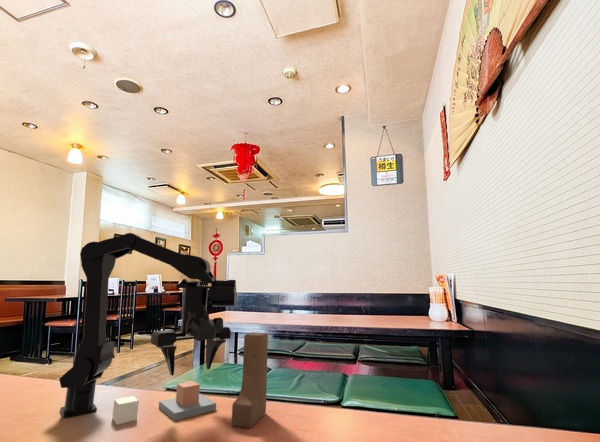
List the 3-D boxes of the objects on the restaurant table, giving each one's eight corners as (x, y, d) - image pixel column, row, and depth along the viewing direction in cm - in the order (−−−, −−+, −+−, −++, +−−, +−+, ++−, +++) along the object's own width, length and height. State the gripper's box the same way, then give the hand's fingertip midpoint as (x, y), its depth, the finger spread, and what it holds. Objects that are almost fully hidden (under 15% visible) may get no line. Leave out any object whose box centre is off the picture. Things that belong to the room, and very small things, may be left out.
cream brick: (112, 419, 73) (114, 399, 73) (131, 414, 75) (133, 395, 76) (116, 424, 70) (118, 404, 70) (136, 420, 72) (138, 400, 73)
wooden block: (250, 429, 68) (253, 338, 71) (230, 426, 69) (234, 337, 73) (266, 413, 76) (268, 332, 80) (248, 411, 78) (251, 332, 81)
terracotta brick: (175, 401, 79) (177, 383, 80) (191, 397, 82) (192, 380, 83) (182, 406, 76) (183, 387, 77) (198, 402, 79) (199, 384, 80)
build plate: (158, 407, 79) (159, 401, 79) (197, 398, 86) (198, 392, 86) (174, 420, 72) (174, 413, 72) (215, 409, 78) (216, 403, 79)
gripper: (169, 310, 71) (163, 387, 68) (243, 306, 83) (240, 372, 80) (152, 307, 80) (146, 376, 77) (222, 304, 92) (219, 364, 89)
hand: (190, 371), depth 80 cm, fingers open, 9 cm apart
